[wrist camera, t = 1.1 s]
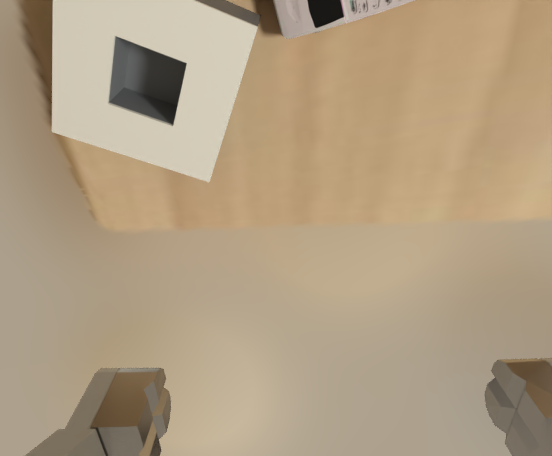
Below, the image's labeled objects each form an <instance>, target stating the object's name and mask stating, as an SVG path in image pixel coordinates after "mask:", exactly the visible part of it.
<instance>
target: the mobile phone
mask: <svg viewBox="0 0 552 456" xmlns="http://www.w3.org/2000/svg"><path fill="white" fill-rule="evenodd" d="M411 1H414V0H273V3H274V7H275V11H276V15H277V19H278V22H279V26H280V30H281V34H282V36H283V37H285V38H286V39H292V38H295V37H299V36H303V35H306V34H310V33H317V32H320V31H322V30H325V29H328V28H332V27H335V26H339V25H342V24H345V23H349V22H352V21H355V20H358V19H362V18H365V17H368V16H371V15H374V14H377V13H380V12H383V11H386V10H388V9H391V8H394V7H397V6H400V5H403V4H406V3H409V2H411Z"/></svg>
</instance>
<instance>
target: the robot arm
mask: <svg viewBox="0 0 552 456" xmlns="http://www.w3.org/2000/svg"><path fill="white" fill-rule="evenodd" d="M491 371H492V373H493V375H494V376H495V378H494V379H493V380H492V381H491V382H489V383H488V384H487V387H486V391H485V401H486V407H487V410H488V413H489V416H490V417H491V419H492V421H493V423H494V425H495V426H497V427H498V428H499V429H501V430H502V431H504V432H505V433H506V440H505V444H506V446H507V447H508V449H509V451H510V453H511V454H512V456H552V358H540V359H537V358H534V359H533V358H532V359H504V360H497V361H496V362H495V363H494V365H493V368H492V370H491ZM165 380H166V377H165V373H164V369H161V368H101V369H100V370H98V371H97V372H96V373H95V374H94V377H93V378H92V380H91V382H90V384H89V385H88V387H87V389H86V391H85V393H84V395H83V396H82V398H81V400H80V402H79V404H78V406H77V407H76V409H75V411H74V413H73V415H72V417H71V418H70V420H69V422H68V424H67V426H66V428H65V429H59V430H57V431H56V432H54V433H53V434H52V435H51V436H49V437H48V438H47V439H46V440H44V441H43V442H42V443H40V444H39V445H38V446H37V447H35V448H34V449H33V450H31V451H30V452H29V453H28V454H26V455H25V456H160V453H161V447H160V443H159V439H160V438H161V437H162V436H163V435H164V433H166V432H167V428H168V424H169V419H170V410H171V401H170V394H169V391H168V390H167V389H165V388H164V383H165Z"/></svg>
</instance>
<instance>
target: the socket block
mask: <svg viewBox="0 0 552 456" xmlns="http://www.w3.org/2000/svg"><path fill="white" fill-rule="evenodd" d="M260 16H261V15H258V14H256V13H254V12H251V11H249V10H247V9H244V8H242V7H240V6H237V5H235V4H233V3H230V2H228V1H226V0H53V32H52V132H53V133H57V134H60V135H63V136H66V137H69V138H72V139H75V140H78V141H82V142H85V143H88V144H91V145H94V146H97V147H100V148H103V149H107V150H110V151H113V152H116V153H119V154H122V155H125V156H129V157H132V158H135V159H138V160H141V161H144V162H147V163H150V164H154V165H157V166H160V167H163V168H166V169H169V170H172V171H176V172H179V173H182V174H185V175H188V176H191V177H194V178H197V179H201V180H204V181H207V182H210V179H211V175H212V172H213V169H214V166H215V163H216V159H217V156H218V153H219V150H220V147H221V143H222V140H223V137H224V134H225V131H226V127H227V124H228V121H229V118H230V115H231V111H232V108H233V105H234V102H235V99H236V95H237V92H238V89H239V86H240V83H241V79H242V76H243V73H244V70H245V66H246V63H247V60H248V57H249V54H250V50H251V47H252V44H253V41H254V38H255V34H256V31H257V28H258V24H259V20H260Z"/></svg>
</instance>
